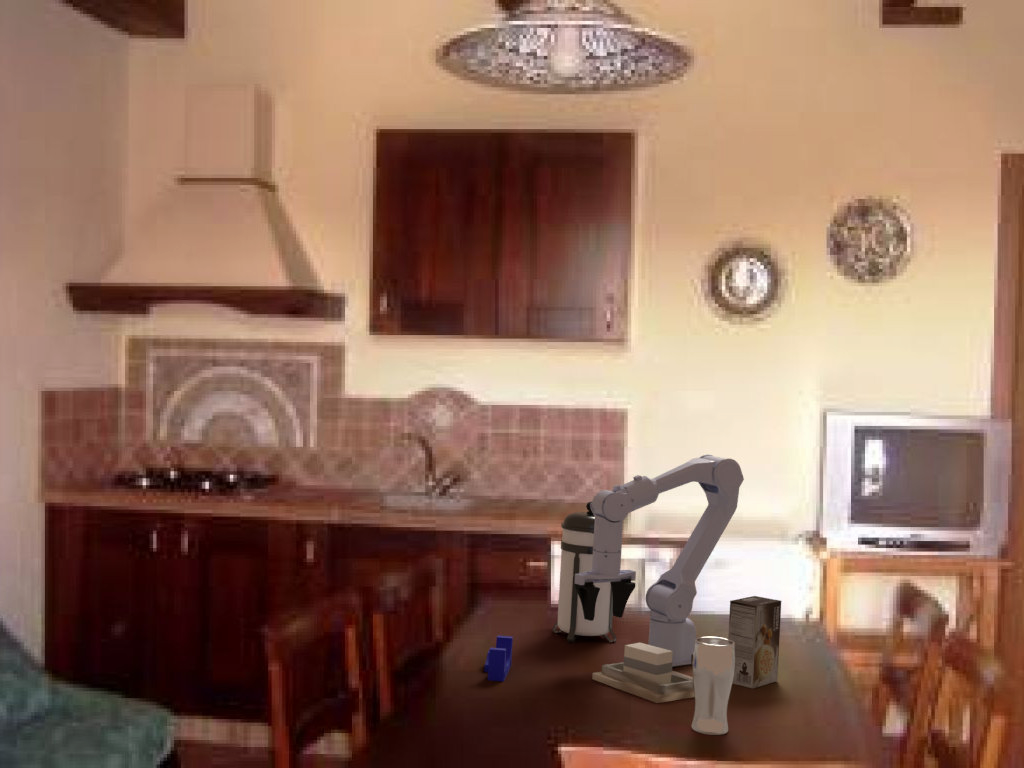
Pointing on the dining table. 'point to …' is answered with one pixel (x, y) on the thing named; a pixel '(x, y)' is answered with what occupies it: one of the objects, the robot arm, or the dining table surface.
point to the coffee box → (755, 640)
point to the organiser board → (646, 684)
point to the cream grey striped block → (648, 662)
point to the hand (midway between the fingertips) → (603, 618)
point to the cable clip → (499, 659)
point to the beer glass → (712, 683)
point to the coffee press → (574, 562)
